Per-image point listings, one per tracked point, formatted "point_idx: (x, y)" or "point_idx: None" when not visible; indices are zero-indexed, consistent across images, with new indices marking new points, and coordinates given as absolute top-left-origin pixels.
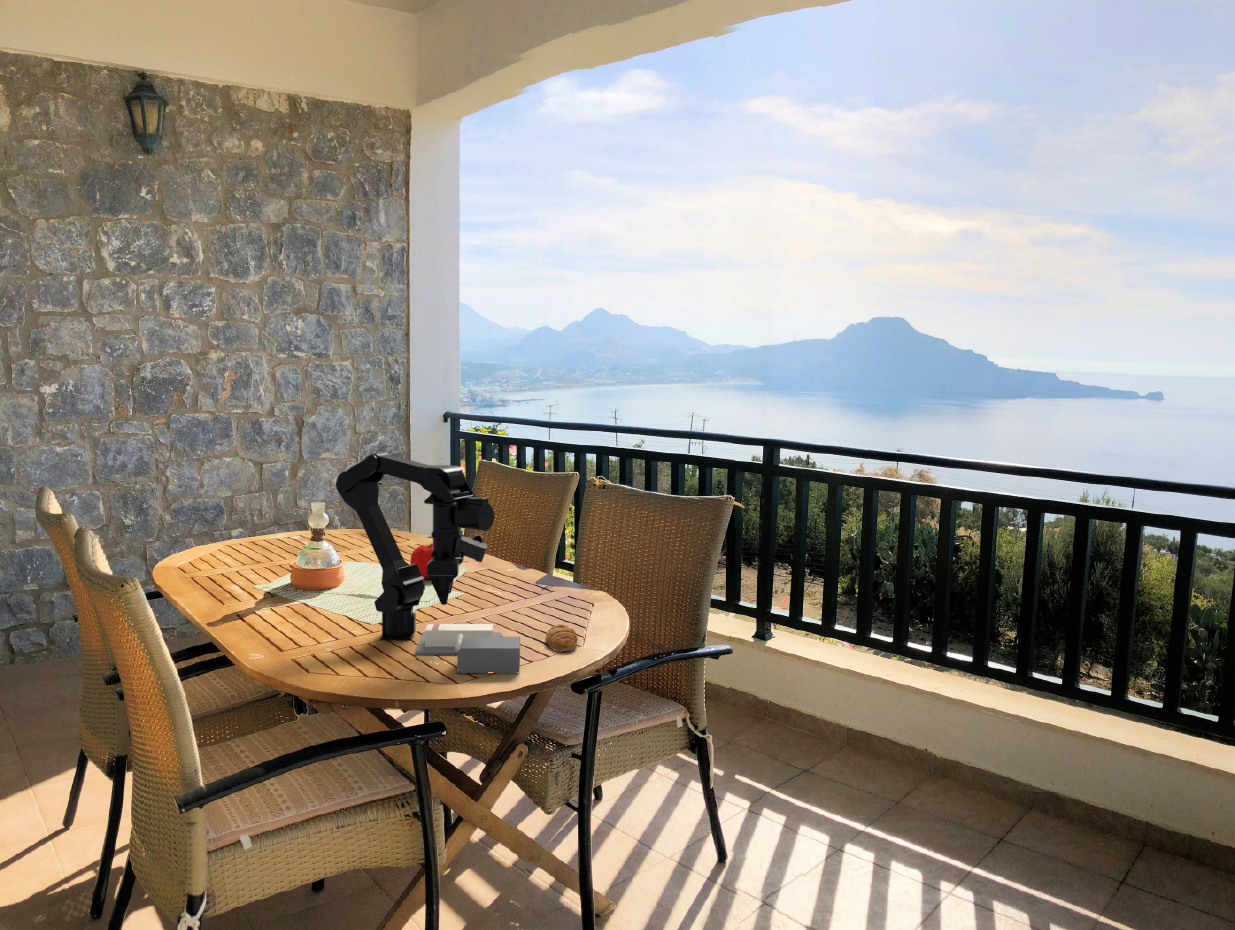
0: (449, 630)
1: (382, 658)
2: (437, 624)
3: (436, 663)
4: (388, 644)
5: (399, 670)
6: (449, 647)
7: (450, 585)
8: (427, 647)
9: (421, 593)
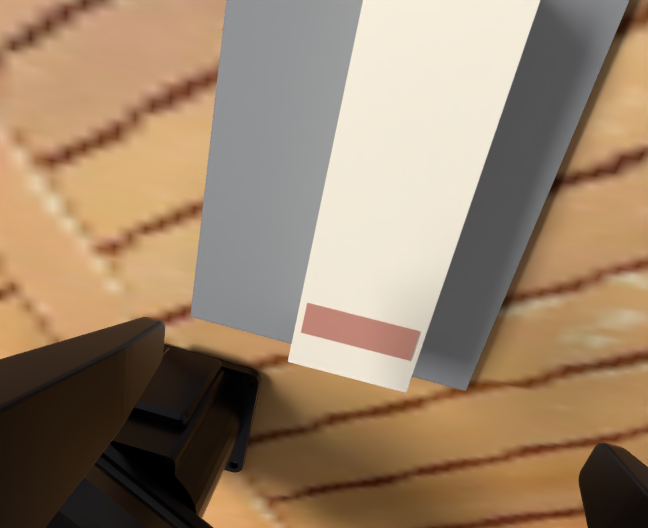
0: (446, 268)
1: (466, 491)
2: (311, 315)
3: (627, 321)
4: (299, 448)
5: None
6: None
7: (117, 370)
8: None
9: (87, 489)
